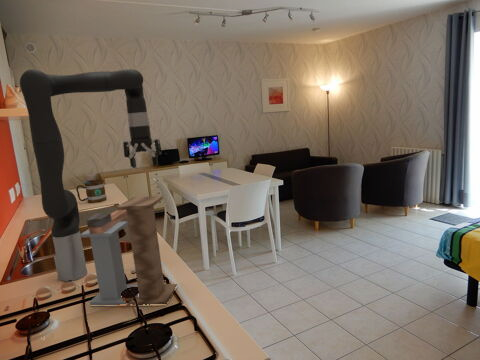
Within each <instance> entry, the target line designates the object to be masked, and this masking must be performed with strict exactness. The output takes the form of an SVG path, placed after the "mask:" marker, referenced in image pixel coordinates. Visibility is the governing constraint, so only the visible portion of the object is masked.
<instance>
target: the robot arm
mask: <svg viewBox="0 0 480 360" xmlns="http://www.w3.org/2000/svg"><path fill="white" fill-rule="evenodd" d="M143 84H144V77H143V74H142V73H141V71H139V70H137V69H130V68H129V69H121V70H113V71H90V72H83V73H75V74H68V75H67V74H65V75H60V74H59V75H58V74H57V75H56V74H48V73H45V72H43V71H41V70H40V69H39V70H38V69H28V70H26V71H24V72H23V73H22V74H21V75H20V78H19V87H20V89H21V90H20V91H21V93H22V97H23V100H24V102H25V105H26V110H27V113H28V114H27V115H28V120H29V121H28V122H29V129H30V134H31V143H32V147H33V154H34V157H35V162H36V166H37V172H38V176H39V183H40V191H41V192H40V193H41V203H42V204H41V206H42V209H43V212H44V213H45V215H46V216H48V217H49V218H50V219H53V224H52V227H51V231H50V232H51V236H52V241H53V246H54V250H55V251H54V252H55V255H54V256H53V259H54V263H55V269H56V270H55V271H56V273H57V280H59V281H63V282H69V281H68V280H72V281H77V280H79V279H82V278H83V277H85V276H87V274H88V270H87V264H86V259H85V252H84V248H83V243H82V237H81V235H80V234H81V231H80V230H81V229H80V221H81V219H80V212H79V211H80V210H79V206H78V201H77V200H78V199H77V198H76V195H75V194H74V193H73V192H72V191H70V190H68V189H65V188H64V183H63V172H64V165H65V148H64V144H63V143H64V142H63V138H62V134H61V131H60V128H59V125H58V123H57V120H56V117H55V115H54V112H53V111H54V110H53V107H52V97H56V96H59V95H66V94H75V93H76V94H77V93H105V92H108V93H109V92H114V91H117V90H118V91H119V90H124V95H125V98H126V99H125V100H126V111H127V122H128V129H129V130H128V131H129V137H130V141H129V140H126V141H123V143H122V145H123V155H124V158H128V159H129V163H130V167H131V169H135V168H137V161H136V155H137V154H138V153H141V152H143V153H144V152H148V153H149V155H151V156H152V157H151V158H152V166H153V168H155V167H158V165H159V161H158V156H160V155H162V154H163V152H162V151H163V150H162V146H161V142H160V139H159V138H156V139H152V135H151V128H150V120H149V116H148V110H147V103H146V99H145V97H144V87H143ZM131 146H132V149H131V152H130V147H131ZM153 146H154V147H155V149H154V148H153Z"/></svg>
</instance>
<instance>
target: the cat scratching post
mask: <svg viewBox="0 0 480 360" xmlns="http://www.w3.org/2000/svg"><path fill="white" fill-rule="evenodd" d="M162 200H164V196H163V195H156V196H155V195H154V196H153V195H152V196H133V197H130V199H128V200H126V201H124V202H123V203H120V204H119V205H118V206H116V209H117V210H126V212H127V217H126V218H127V221H128V225H127V226H128V230H129V238H130V245H131V251H132V258H133V263H134V271H135V277H136V278H137V279H136V278H135V279H136V283H137V284H138V291H139V297H138V298H137V299H136V300H137V303H138V305H143V304H145V305H147V304H149V305H150V304H167V302H168V301H169V299H170V298H171V296H172V294H173V292H174V289H175V287H176V285H177V286H178V283H165V282H164V281H165V280H164V275H163V274H164V272H163V271H162V270H163V268H162V260H161V259H162V258H161V252H160V245H159V238H158V231H157V230H158V229H157V223H156V214H155V208H154V207H155V206H156V205H157V204H159V203H160V202H161V201H162ZM173 295H174V294H173ZM172 297H173V296H172ZM171 299H172V298H171ZM171 299H170V300H171ZM169 302H170V301H169ZM129 304H133V305H135V301H134V300H131V301H129ZM129 304H128V305H129ZM167 305H168V304H167Z"/></svg>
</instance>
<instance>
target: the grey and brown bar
mask: <svg viewBox="0 0 480 360" xmlns="http://www.w3.org/2000/svg"><path fill="white" fill-rule="evenodd" d="M125 218H127V212H126V210H115V211H113V212H112V213H111V212H107V213H105V212H104V213H95V214H94V215H92V216H90V217H89V218H87V219H86V224H87V228H88V229H89V232H90V234H101V233H104V232H105V231H107V230H108V229H109V228H111V227H112V226H114V225H115V224H117V223H118V222H122V220H123V219H124V220H125Z"/></svg>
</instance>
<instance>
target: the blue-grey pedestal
mask: <svg viewBox="0 0 480 360" xmlns="http://www.w3.org/2000/svg"><path fill="white" fill-rule="evenodd" d="M127 226H129V225H128V220H127V221H120V222H118V223H117V224H115V225H114V226H112V227H111V228H109V229H108V230H107V231H105V232H104V233H101V234H90V232H89V228H88V229H86V230H85V231H83V232H81V233H80V236H81V238H89V239H90V245H91V251H92V256H93V261H94V268H95V274H96V278H97V286H98V290H99V292H98V293H97V294H96V295H95V296H94V297H93V298H92V299H91V300H90V301H89V306H90V305H120V304H126V301H123V300H122V297H121V293H122V291H124V290H125V289H127V288H130V287H138V284H127V280H126V274H125V266H124V262H123V260H124V259H123V254H122V248H121V242H120V236H119V232H120V231H121V230H122V229H124V228H125V227H127Z"/></svg>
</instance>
